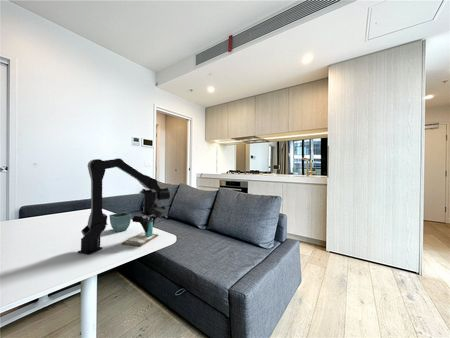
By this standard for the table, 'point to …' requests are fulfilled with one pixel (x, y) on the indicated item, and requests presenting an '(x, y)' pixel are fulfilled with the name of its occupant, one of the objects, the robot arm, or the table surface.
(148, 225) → the robot arm
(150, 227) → the teal capped bottle
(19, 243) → the table surface
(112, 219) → the flower pot
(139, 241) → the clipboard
